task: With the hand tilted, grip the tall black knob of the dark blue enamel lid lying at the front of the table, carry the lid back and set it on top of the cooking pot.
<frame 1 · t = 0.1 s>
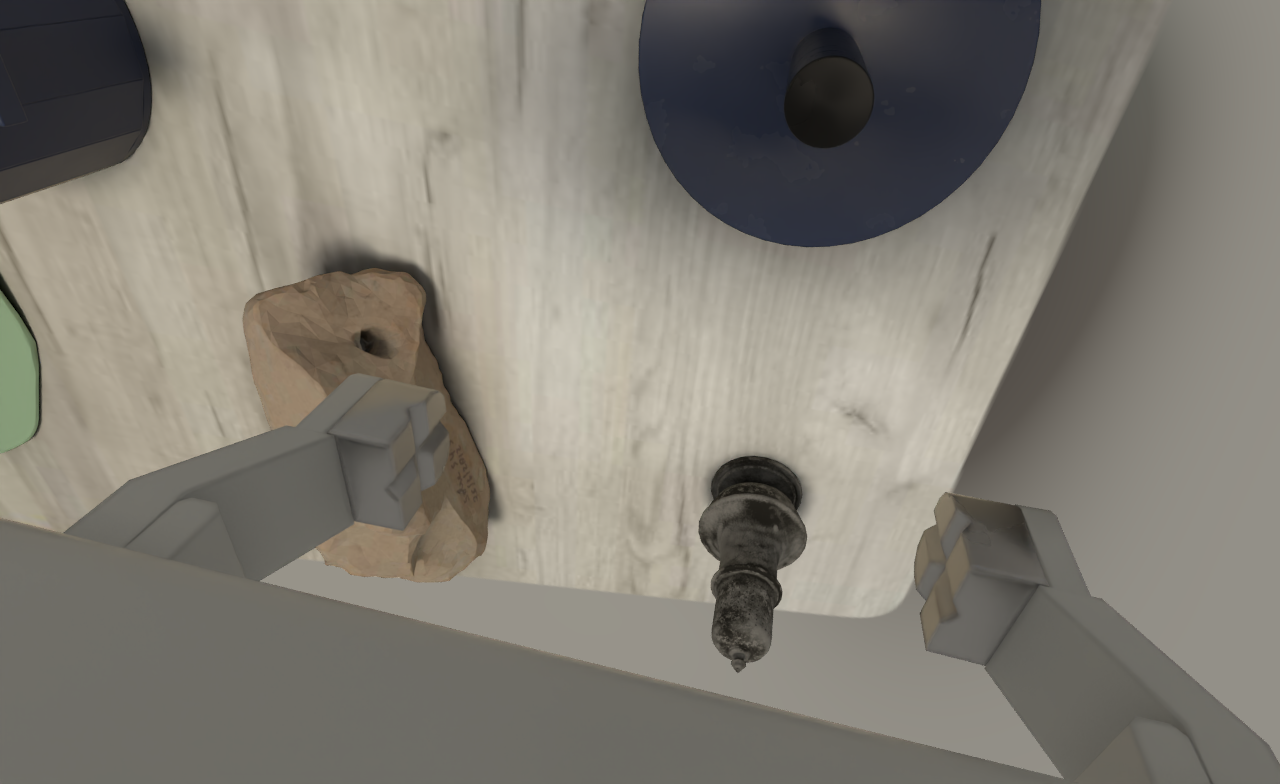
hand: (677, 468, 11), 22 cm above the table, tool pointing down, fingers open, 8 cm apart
decorative stone: (421, 395, 41), on the table
dark rounded turned piece: (756, 489, 40), on the table
cooking pot: (21, 29, 33), on the table
lid: (824, 63, 26), point 1 cm above the table
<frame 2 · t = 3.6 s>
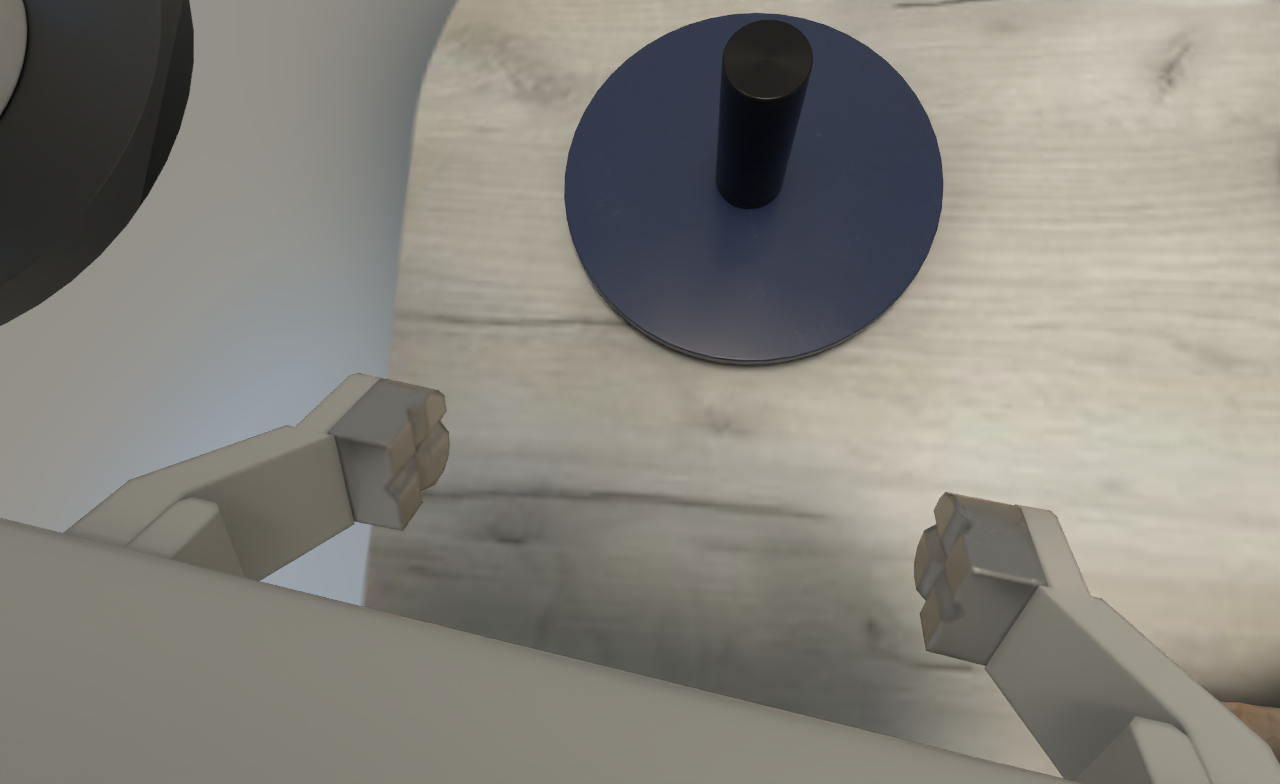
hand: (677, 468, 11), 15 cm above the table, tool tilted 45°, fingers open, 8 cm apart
lid: (748, 185, 27), point 1 cm above the table
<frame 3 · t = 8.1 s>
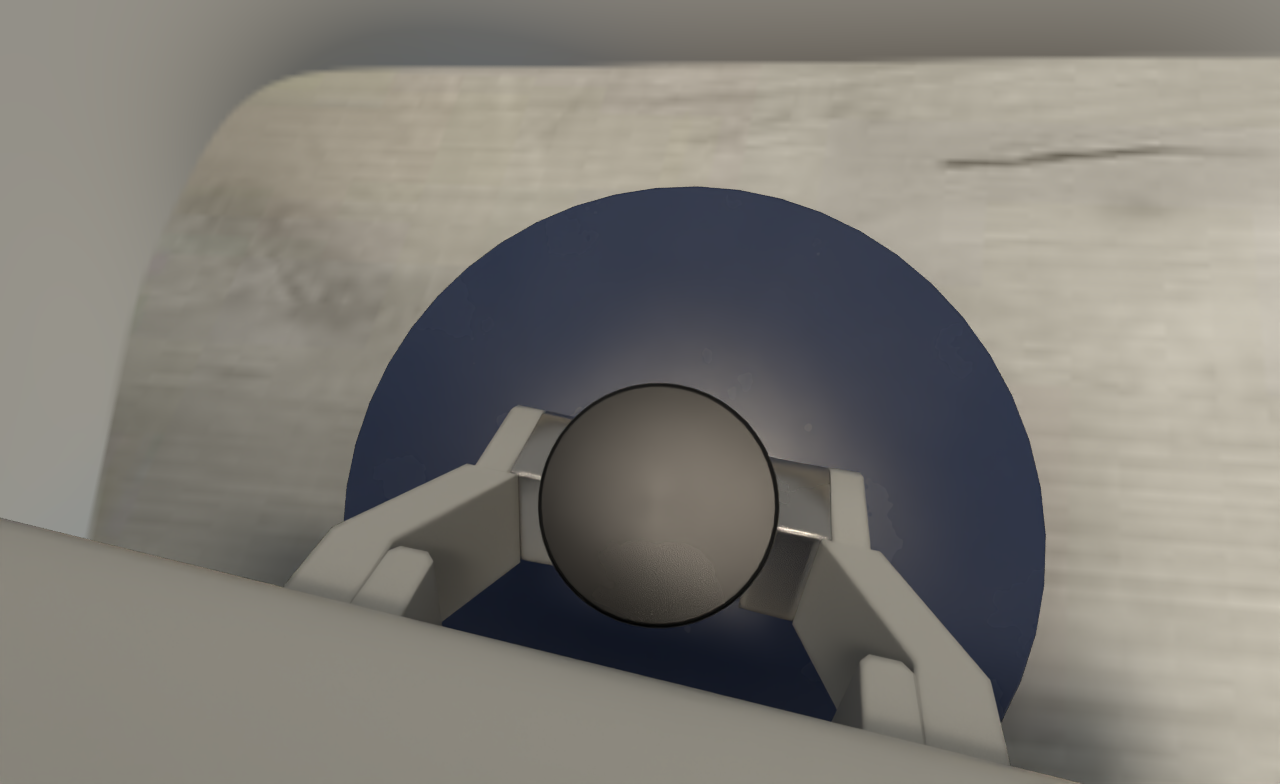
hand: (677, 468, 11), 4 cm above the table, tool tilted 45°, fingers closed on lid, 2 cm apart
lid: (678, 510, 15), point 1 cm above the table, touching gripper
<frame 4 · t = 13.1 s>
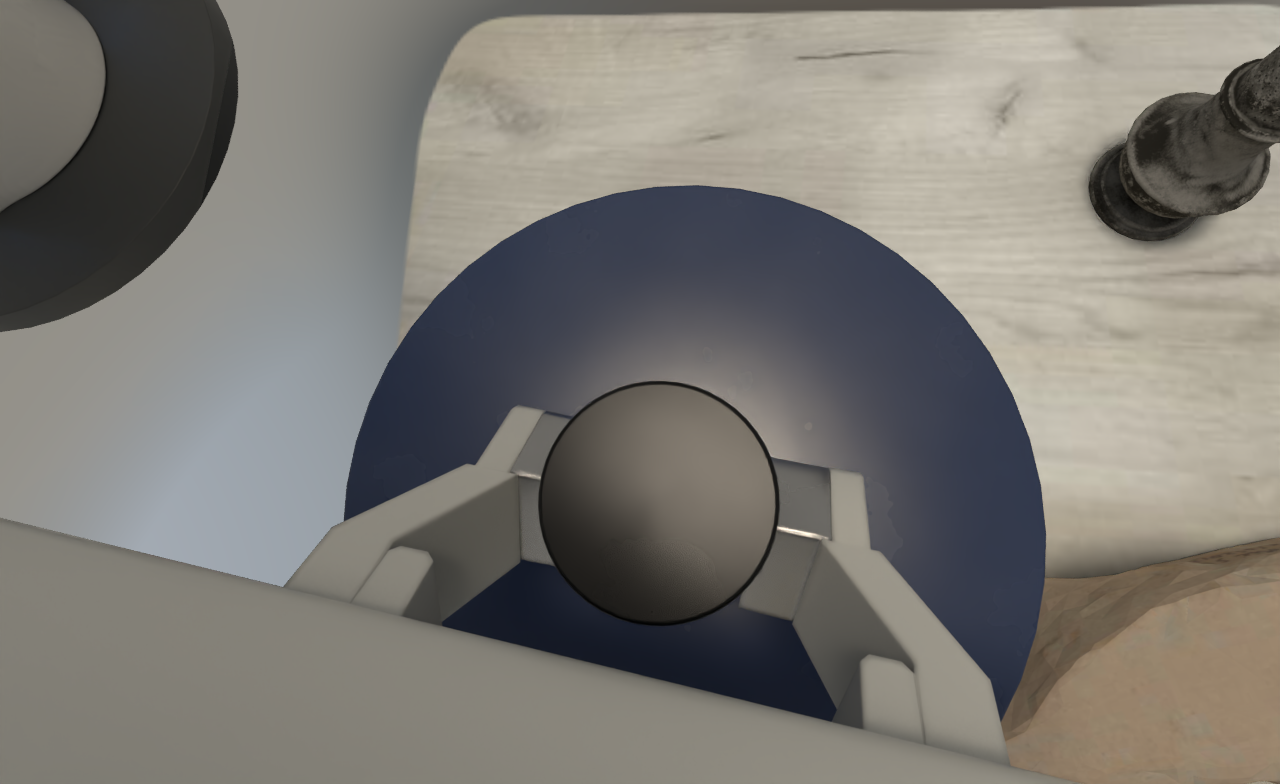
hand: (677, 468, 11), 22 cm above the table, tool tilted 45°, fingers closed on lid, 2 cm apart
decorative stone: (1123, 630, 30), on the table
dark rounded turned piece: (1142, 192, 33), on the table
lid: (679, 509, 15), point 18 cm above the table, touching gripper
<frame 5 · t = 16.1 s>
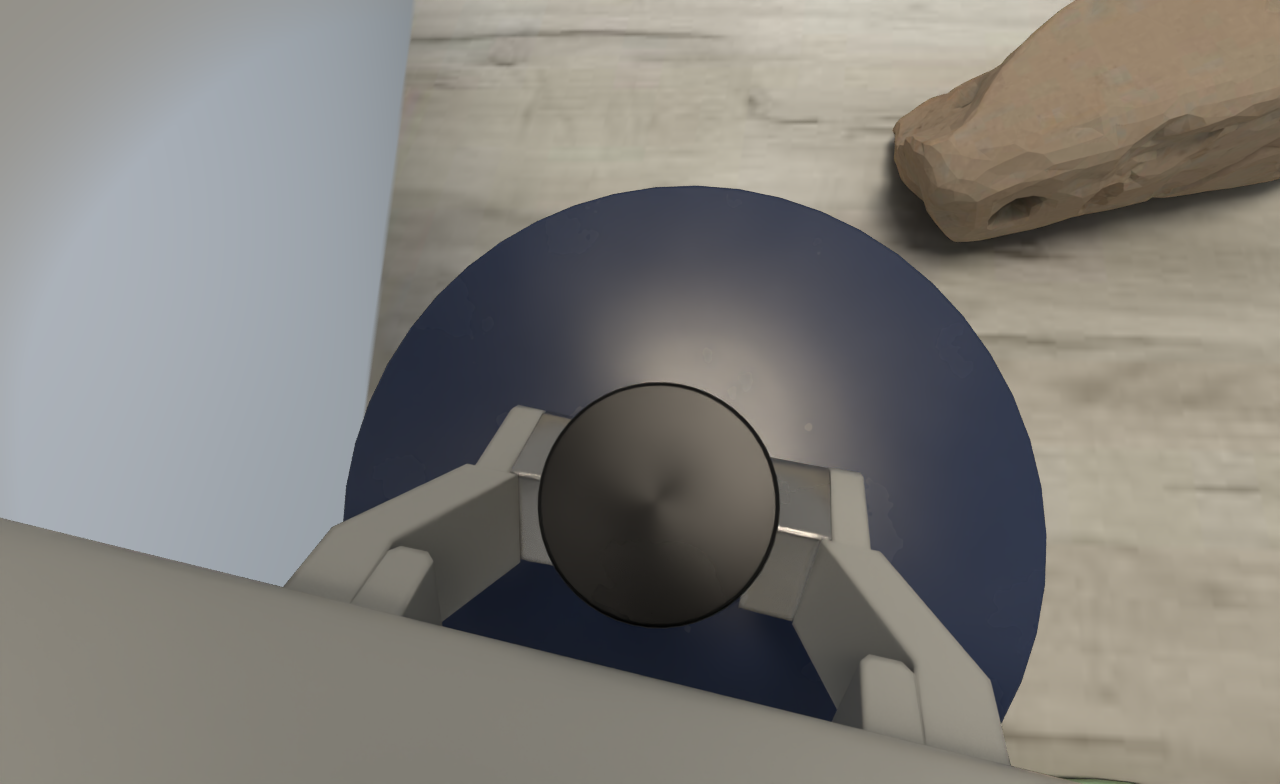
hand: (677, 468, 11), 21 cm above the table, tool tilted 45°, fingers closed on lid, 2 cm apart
decorative stone: (1073, 162, 33), on the table
lid: (679, 509, 15), point 17 cm above the table, touching gripper
when the fingers open (14 cm above the table, at t = 18.3 s): lid stays where it is, resting on cooking pot.
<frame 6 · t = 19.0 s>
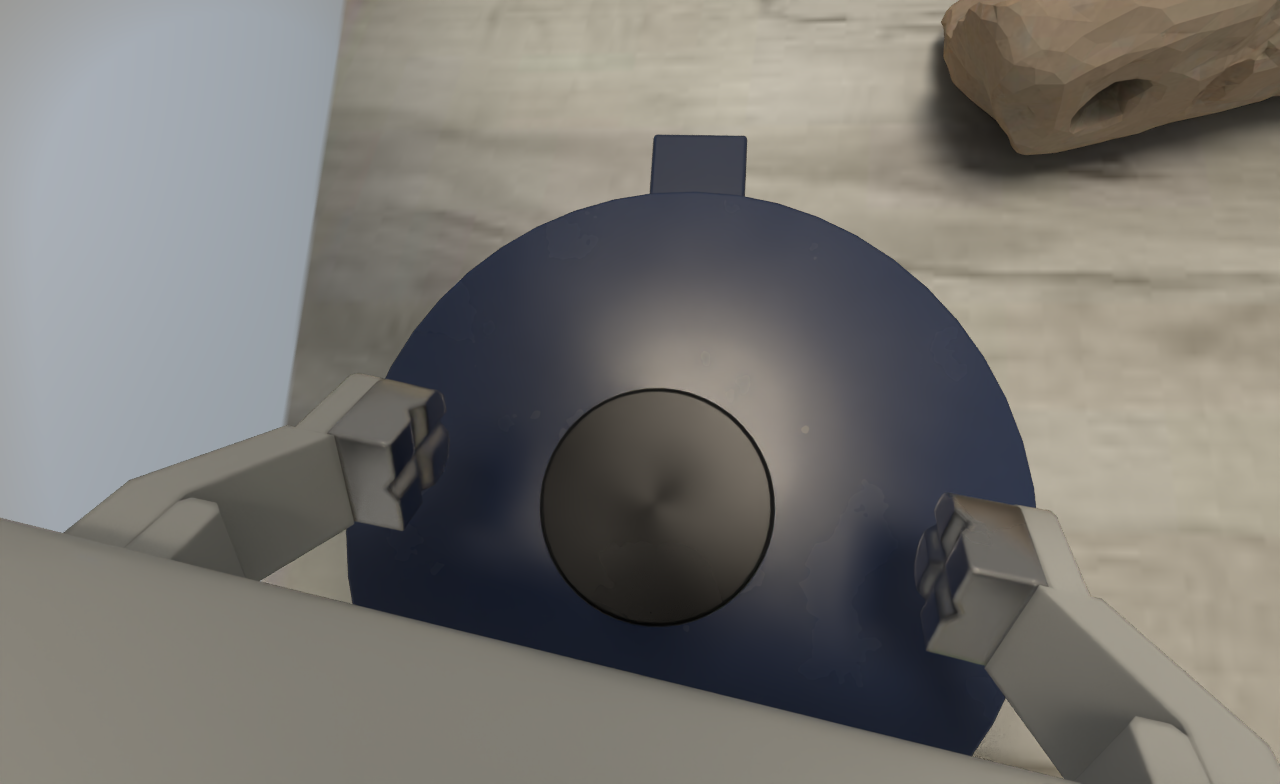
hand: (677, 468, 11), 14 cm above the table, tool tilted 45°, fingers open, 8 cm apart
decorative stone: (1164, 62, 27), on the table
cooking pot: (686, 513, 25), on the table
lid: (677, 511, 15), point 10 cm above the table, touching cooking pot
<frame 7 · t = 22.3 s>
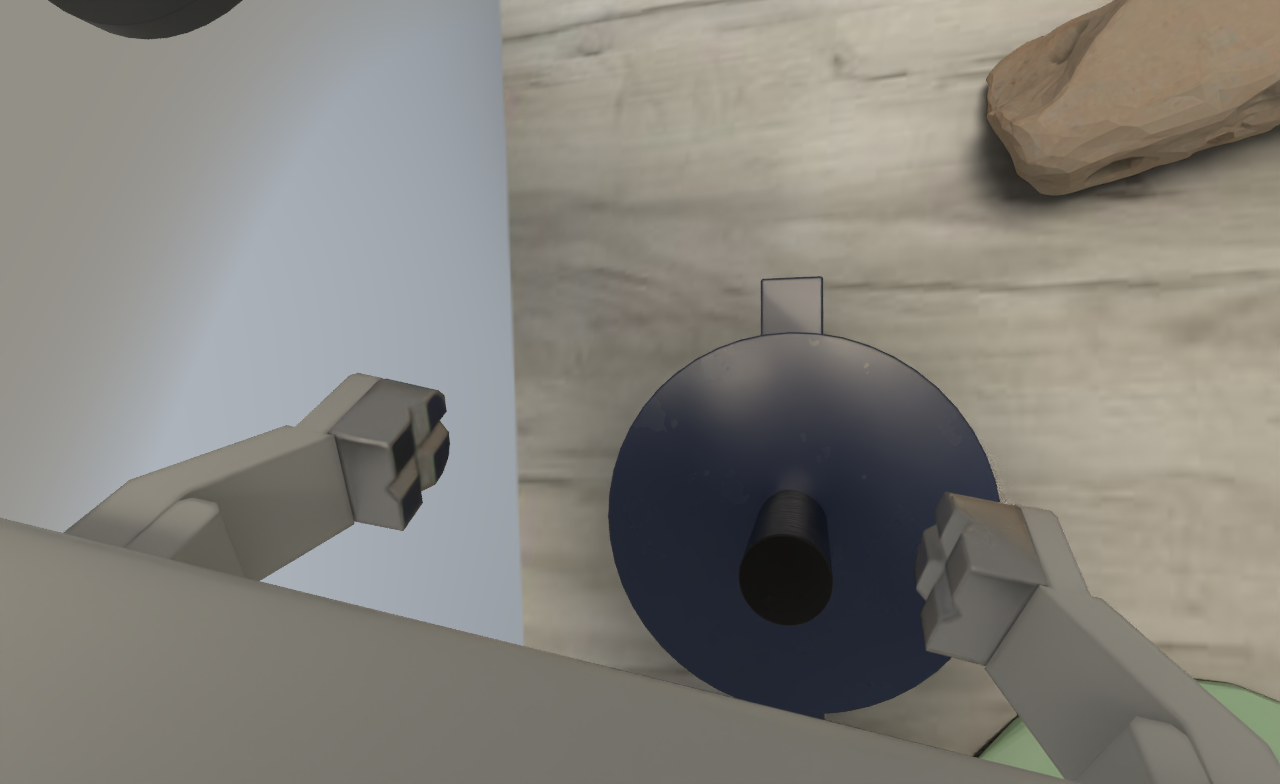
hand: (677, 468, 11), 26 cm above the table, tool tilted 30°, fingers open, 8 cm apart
decorative stone: (1190, 84, 31), on the table
cooking pot: (797, 478, 36), on the table
lid: (792, 521, 26), point 10 cm above the table, touching cooking pot
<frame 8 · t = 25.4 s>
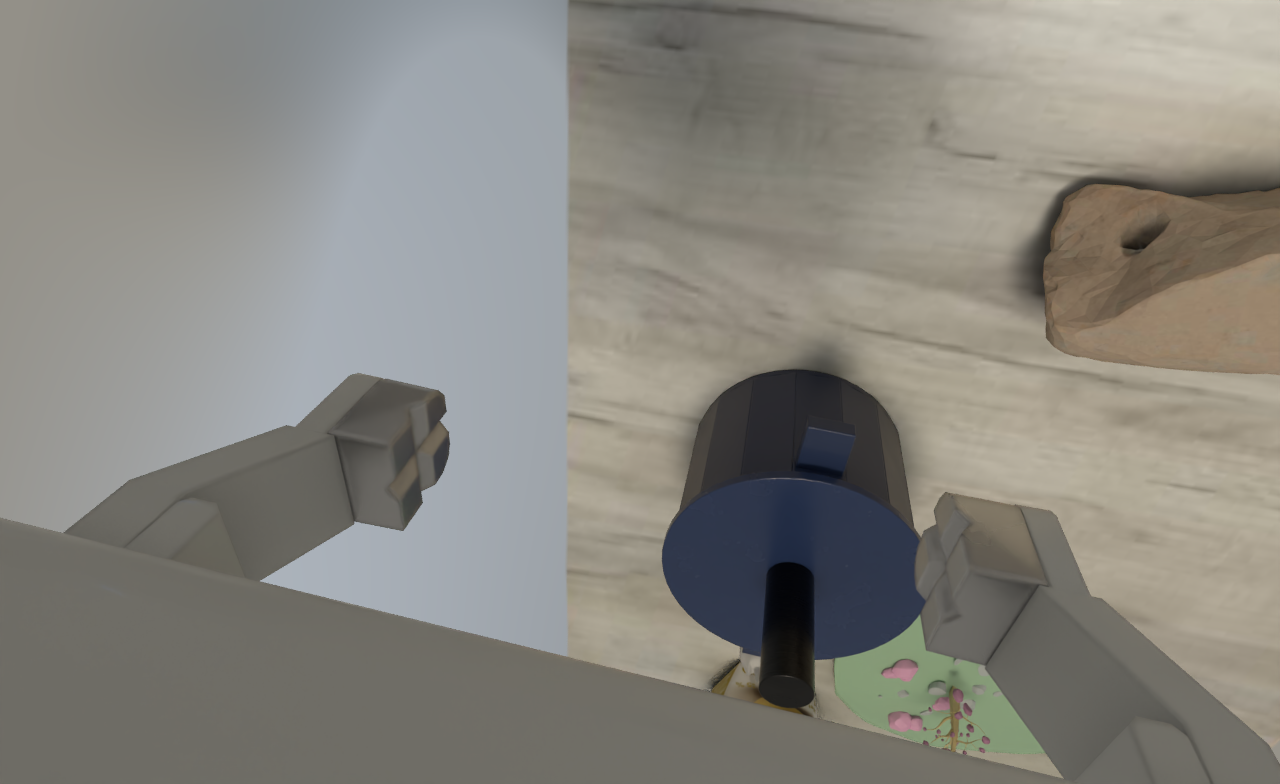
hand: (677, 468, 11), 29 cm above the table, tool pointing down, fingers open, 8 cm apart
rubber duck: (765, 601, 56), on the table
decorative stone: (1240, 232, 33), on the table
cooking pot: (794, 453, 46), on the table
plant: (989, 676, 55), on the table
lid: (790, 569, 38), point 10 cm above the table, touching cooking pot
juice carton: (761, 688, 62), on the table
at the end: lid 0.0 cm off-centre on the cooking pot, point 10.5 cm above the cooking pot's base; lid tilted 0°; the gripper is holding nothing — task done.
